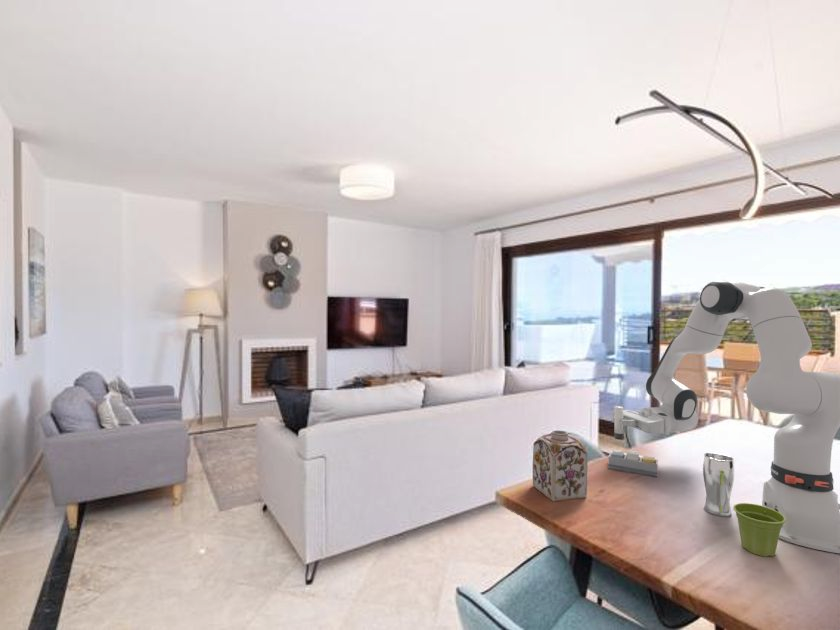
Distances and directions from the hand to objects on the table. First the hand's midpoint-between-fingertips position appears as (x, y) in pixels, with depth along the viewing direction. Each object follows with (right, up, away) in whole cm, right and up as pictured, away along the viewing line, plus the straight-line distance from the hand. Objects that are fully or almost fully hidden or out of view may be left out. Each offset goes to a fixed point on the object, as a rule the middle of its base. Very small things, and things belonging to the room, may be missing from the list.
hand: (616, 421), depth 152 cm
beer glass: (+12, -16, -34) cm, 40 cm away
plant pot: (+8, -17, -53) cm, 56 cm away
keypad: (+5, -15, -2) cm, 16 cm away
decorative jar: (-27, -16, -22) cm, 39 cm away
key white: (+5, -13, -2) cm, 14 cm away
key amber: (+9, -15, -4) cm, 18 cm away
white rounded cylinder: (+1, -6, 0) cm, 6 cm away
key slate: (+1, -14, +1) cm, 14 cm away
